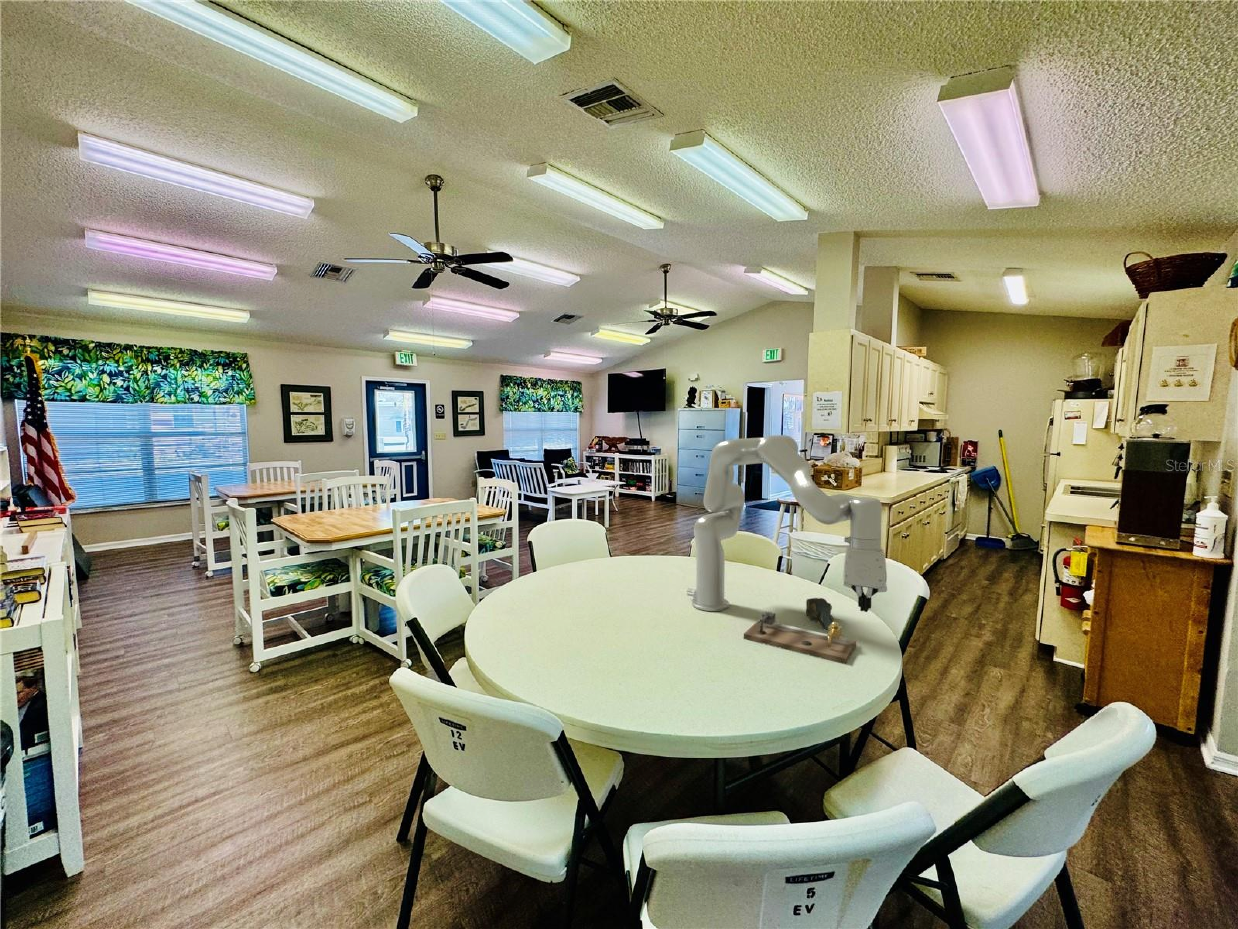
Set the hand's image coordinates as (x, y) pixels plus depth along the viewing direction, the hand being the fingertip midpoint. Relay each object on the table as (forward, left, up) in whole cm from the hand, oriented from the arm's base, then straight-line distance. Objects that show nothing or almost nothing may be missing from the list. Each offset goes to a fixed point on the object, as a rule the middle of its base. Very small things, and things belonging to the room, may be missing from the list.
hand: (864, 610), depth 140 cm
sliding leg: (-7, -2, -10) cm, 13 cm away
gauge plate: (-16, -3, -12) cm, 21 cm away
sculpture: (-15, +16, -13) cm, 25 cm away
